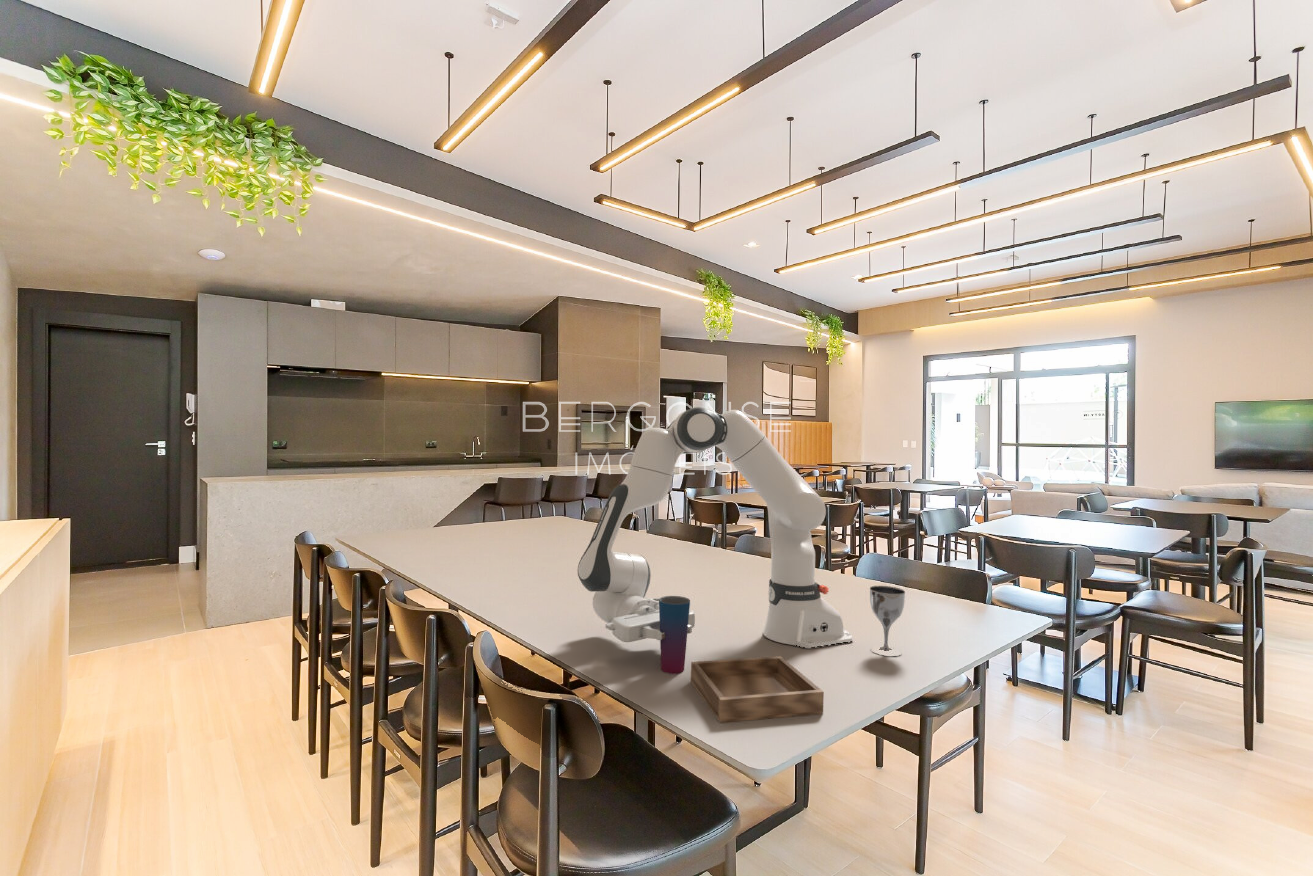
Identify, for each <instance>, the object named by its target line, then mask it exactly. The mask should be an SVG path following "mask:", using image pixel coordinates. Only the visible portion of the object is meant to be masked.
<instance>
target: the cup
mask: <svg viewBox="0 0 1313 876" xmlns="http://www.w3.org/2000/svg"><path fill="white" fill-rule="evenodd" d="M658 599H659V618H660V629H661V630H663V631H665V639H663V640H659V644H660V645H659V646H660V648H659V649H660V670H661V671H662V672H664V673H666V674H680V673H683V672H684V671H685V664H686V651H687V643H688V642H687V640H688V634H687V631H688V620H689V609H690V607H691V605H690V604H691V599H690V598H689V597H685V596H682V595H681V596H679V595H666V596H661V597H660V598H658Z"/></svg>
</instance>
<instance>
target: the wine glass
mask: <svg viewBox="0 0 1313 876" xmlns="http://www.w3.org/2000/svg"><path fill="white" fill-rule="evenodd" d="M905 598H906V592H905V590H904V589H902V588H900V587H895V586H889V585H873V586H870V587H869V600H870V601H869V602H870V608H871V611H872V613H873V614H874V616H875V617H876V619H877V620H878V621H879V622H880V624H881V625H882V629H883V634H884V635H883V637H884V638H883V639H884V641H883V642H884V644H883V647H880V649H879V650H884V651H889V650H892V649H891V648H892V647H890V648H889V634H890V633H889V632H890V628H891V627H892V626H893V624H894V623H896V621H897V620H898V619H899V618H900V617H901V616H902V614H903V611H904V608H905V601H906V600H905Z"/></svg>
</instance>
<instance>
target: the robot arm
mask: <svg viewBox="0 0 1313 876" xmlns="http://www.w3.org/2000/svg"><path fill="white" fill-rule="evenodd" d="M713 447H716V448H718V449H720V451H722V452H723V454H725V455H726V457H727V459H728V460H729V461H730V462H731V463H732V465H733V466H734V467H735V468H736V470H737V471H738V472H739V473H740V475H741V476H742V477H743V478H744V481H746V482H747V483H748V485H749V486H750V487H751V488H752V489H753V490H754V491H755V493H757V494H758V495H759V497H761V499H762V500H763V501H764V502H765V503H766V508H767V516H768V529H769V530H768V531H769V536H770V537H769V538H770V545H771V547H770V548H771V552H770V553H771V556H770V557H771V558H770V559H771V562H770V579H769V581H768V602H769V604H768V611H767V617H766V621H765V626H764V629H763V632H762V634H763V636H764V637H765V638H766V639H769V640H771V641H774V642H776V643H781V644H784V645H785V644H786V645H790V646H791V645H792V646H796V645H797V646H796V647H799V646H800V647H799V648H803V647H805V648H804V649H812V648H811V647H815V648H818V647H817V646H821V645H828V646H830V645H829V644H835V645H837V644H836V643H841V642H848V643H850V642H849V641H852V642H854V641H853V635H852V633H850V632H849V631H848V630H847V629H844V623H843V618H842V616H841V614H840V612H839V611H838V610H837V609H835V607H834V606H832V605H831V604H830V603H828V602H827V601H826V600H825V599H824V598H822V595H821V594H823V595H828V593H829V591H830V590H829V589H830V588H829V587H828V586H826V585H823V584H819V583H817V582H816V581H815V580H816V579H815V577H816V572H815V571H816V550H815V548H814V544H813V540H812V539H813V538H812V532H811V531H813V530H816V529H817V528H819V527H820V526H821V525H822V524H823V522H824V520H825V518H826V515H827V514H826V513H827V510H826V509H827V508H826V505H825V502H824V500H823V498H821V496H820V495H819V494H818V493H817V491H815V490H814V489H813V488H812V487H811V486H810V484H809V483H808V482H807V481H806V480H805V479H804V477H802V475H800V474H799V473H798V471H797V470H796V469H794V467H792V466H791V465H790V464H789V462H787V460H786V459H785V458H784V457H783V456H782V454H780V452H779V451H778V450H777V449H776V447H775V446H774V445H773V444H772V442H771V441H770V440H769V439H768V437H767V436H766V435H765V433H764V432H763V431H762V430H761V428H760V427H758V425H757V424H756V423H754V421H752V420H751V419H750V418H749V417H748V416H747V415H746V414H745V413H743V412H742V411H741V410H738V409H731V410H726V411H725V412H722V414H720V413H718V412H714V411H712V410H711V409H708V408H706V407H705V408H704V407H701V406H700V407H698V406H697V407H691V408H688V409H686V410H685V411H683V412H681V413H679V414H678V415H677V417H675V419H674V420H673V421H672V422H671V423H670V424H669V426H667V427H666V428H662V427H650V428H648V429H645V430H644V431H643V432H642V433H641V436H640V437H639V440H638V442H637V445H636V447H635V449H634V452H633V454H632V455H633V456H632V459H631V462H630V466H629V470H628V473H627V475H626V476H625V478H624V480H623V481H622V482H621V483H620V484H619V485H616V486H615V487H613V489H612V491H611V492H610V495H609V496H608V498H607V500H606V503H605V505H604V507H603V510H602V512H601V515H600V517H599V519H598V522H597V524H596V527H595V529H594V532H593V534H592V537H591V539H590V541H589V544H588V546H587V548H586V549H585V551H584V552H583V555H582V556H581V557H580V560H579V562H578V566H577V576H578V579H579V581H580V582H581V585H583V587H584V588H585V590H587V591H588V592H590V593H591V592H592V593H593V592H595V593H594V594H593V597H592V604H591V605H592V608H593V610H594V613H595V614H596V615H597V617H599V618H600V619H601V620H602V621H604V622H605V625H604V626H605V629H607V630H609V631H612V632H611V633H612V635H613V636H614V637H615V638H617V639H618V640H620V641H621V642H623V643H633V642H637V641H641V640H646V639H653V640H654V639H655V640H657V641H660V640H663V639H665V631H663V630H661V629H660V618H659V599H660V598H650V597H645V596H646V594H647V592H648V589H649V586H650V582H651V577H652V575H651V569H650V565H649V563H648V561H647V559H646V558H645V557H644V556H643V555H641V554H636V553H629V552H619V551H614V550H612V548H613V546H614V544H615V541H616V538H617V536H618V533H619V530H620V528H621V526H622V524H623V521H624V520H625V518H626V517H627V516H628V515H629V514H632V512H635V511H637V510H641V509H644V508H645V509H646V508H649V507H652V506H655V505H657V504H659V503H661V502H662V501H663V500H664V499H666V497H667V495H668V493H669V491H670V489H671V486H672V480H673V477H674V473H675V472H674V471H675V467H676V463H677V461H678V459H679V457H681V455H682V454H685V455H686V454H688V455H689V454H697V453H702V452H703V451H705V450H708V449H711V448H713ZM695 623H696V615H695V611H693V610H692V609H690V608H689V620H688V631H687V635H689V634H692V633H693V631H692V629H693V628H695Z"/></svg>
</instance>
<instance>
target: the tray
mask: <svg viewBox="0 0 1313 876" xmlns="http://www.w3.org/2000/svg"><path fill="white" fill-rule="evenodd" d="M690 682H691V683H692V685H693V687H694V688H695V690H696V691H697V692H698V693H699V695H700V697H701V698H702V699H703V701H704V702H705V703H706V705H707V706H708V708H709V709H710V710H711V712H712V713H713V714H714V716H715V718H716V719H717V721H718V722H719V723H720V724H722V723H723V724H724V723H733V722H734V723H735V722H745V721H754V720H755V721H756V720H757V721H758V720H767V719H768V720H769V719H776V718H777V719H778V718H779V719H780V718H788V717H791V718H792V717H799V716H810V715H811V714H813V715H822V714H821V713H823V714H824V692H825V691H824V690H822V689H821V688H819V686H817V685H816V684H815V683H814V682H813V681H812V680H810V679H809V678H808V677H806V676H805V675H804V674H803V673H801V671H799V670H798V669H797V668H795V666H793V665H792V664H791V663H790V662H788V661H787V660H786V659H785V658H783V657H782V656H764V657H749V658H747V657H746V658H736V659H735V658H734V659H733V658H732V659H730V658H729V659H718V660H716V659H715V660H704V661H703V660H701V661H691V663H690ZM811 716H812V715H811Z"/></svg>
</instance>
